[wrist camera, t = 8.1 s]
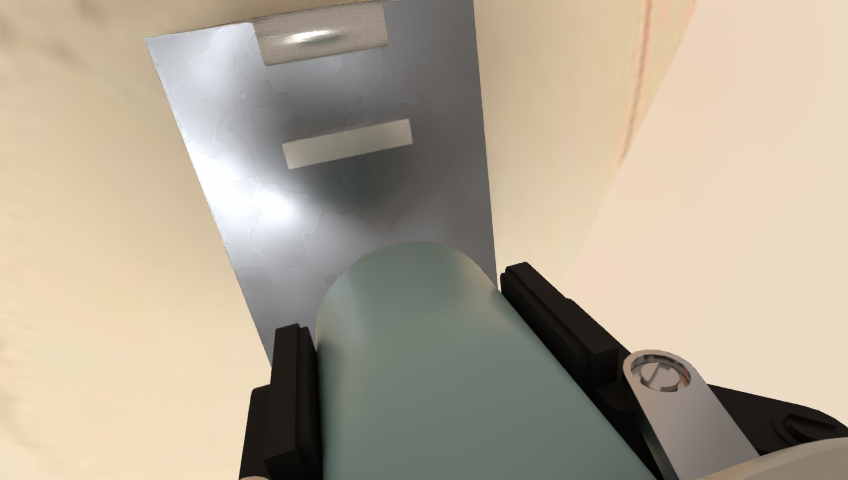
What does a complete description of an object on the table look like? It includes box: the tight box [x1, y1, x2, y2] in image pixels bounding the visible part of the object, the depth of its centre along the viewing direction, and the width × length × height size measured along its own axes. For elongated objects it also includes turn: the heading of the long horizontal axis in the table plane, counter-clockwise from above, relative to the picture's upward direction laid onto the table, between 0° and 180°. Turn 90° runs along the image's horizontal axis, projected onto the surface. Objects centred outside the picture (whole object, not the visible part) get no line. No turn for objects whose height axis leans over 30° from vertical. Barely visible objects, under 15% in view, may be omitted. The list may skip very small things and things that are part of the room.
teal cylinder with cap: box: [315, 241, 657, 480], centre depth 8 cm, size 5×5×9 cm
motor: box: [144, 0, 498, 367], centre depth 24 cm, size 18×16×13 cm
